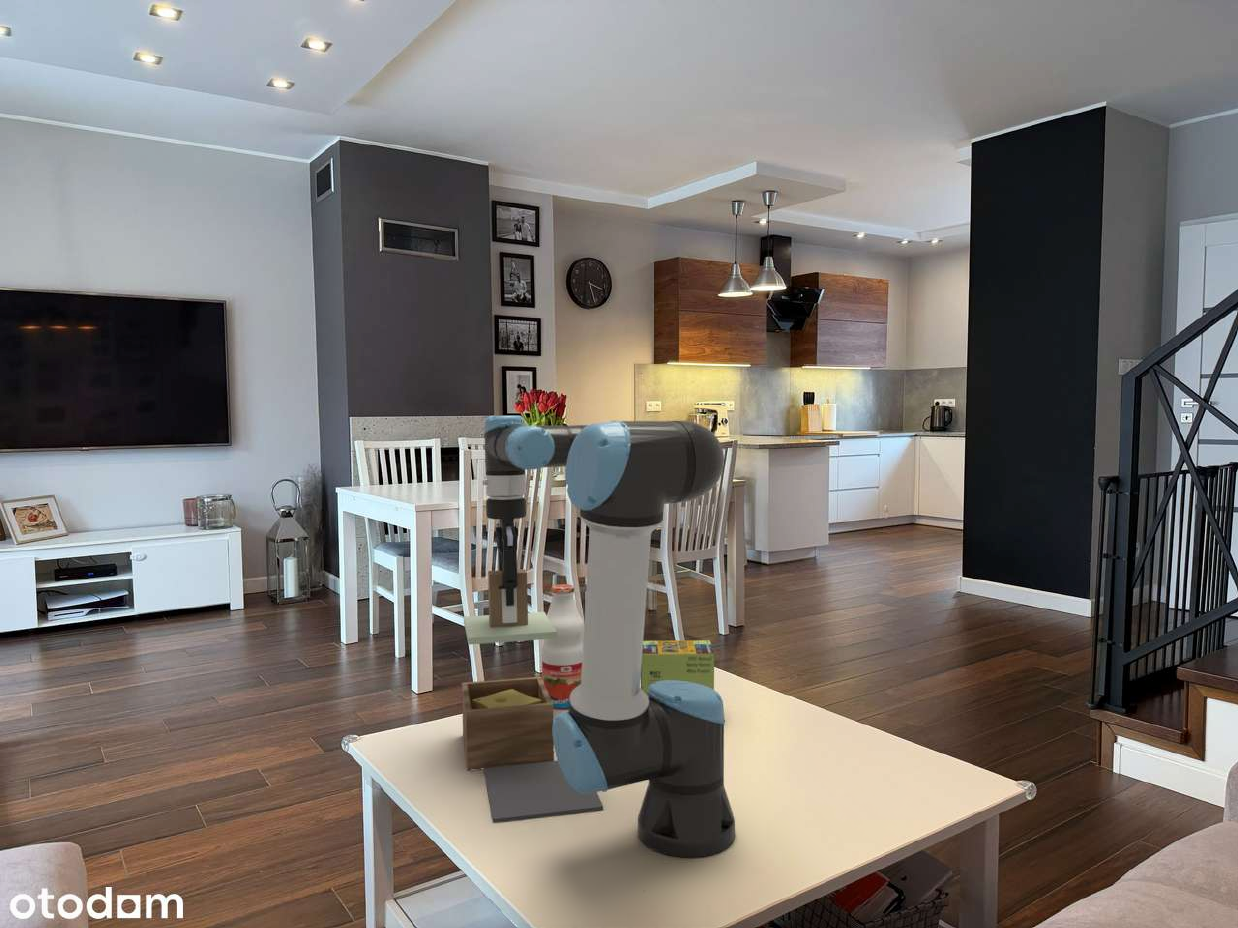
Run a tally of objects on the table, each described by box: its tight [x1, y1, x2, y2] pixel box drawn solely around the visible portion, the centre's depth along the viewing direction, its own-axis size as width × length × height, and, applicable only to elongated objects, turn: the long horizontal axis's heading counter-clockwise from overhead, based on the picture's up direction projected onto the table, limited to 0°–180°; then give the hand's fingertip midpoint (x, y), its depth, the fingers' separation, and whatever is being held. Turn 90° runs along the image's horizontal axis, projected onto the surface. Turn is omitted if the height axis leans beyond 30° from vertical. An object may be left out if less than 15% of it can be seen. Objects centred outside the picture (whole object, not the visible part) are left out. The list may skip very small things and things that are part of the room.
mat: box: [483, 760, 604, 823], centre depth 148 cm, size 20×18×1 cm
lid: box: [463, 568, 557, 645], centre depth 162 cm, size 17×16×11 cm
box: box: [461, 676, 555, 771], centre depth 166 cm, size 17×16×11 cm
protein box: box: [640, 639, 715, 696], centre depth 182 cm, size 10×15×16 cm
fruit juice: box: [541, 583, 585, 721], centre depth 184 cm, size 9×9×28 cm
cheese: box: [471, 689, 542, 709], centre depth 166 cm, size 10×11×10 cm
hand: (508, 619), depth 162 cm, fingers closed on lid, 4 cm apart
